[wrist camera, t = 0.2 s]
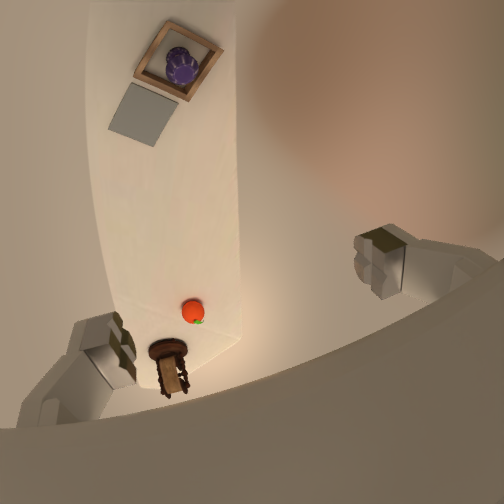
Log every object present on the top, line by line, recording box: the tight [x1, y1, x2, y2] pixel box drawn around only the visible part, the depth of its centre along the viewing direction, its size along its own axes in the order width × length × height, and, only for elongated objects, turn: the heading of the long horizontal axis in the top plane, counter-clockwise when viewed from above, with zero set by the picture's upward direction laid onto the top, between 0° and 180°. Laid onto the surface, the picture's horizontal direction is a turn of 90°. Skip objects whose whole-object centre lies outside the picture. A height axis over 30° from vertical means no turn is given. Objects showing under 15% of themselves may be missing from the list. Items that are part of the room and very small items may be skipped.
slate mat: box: [108, 83, 178, 147], centre depth 50 cm, size 10×10×1 cm
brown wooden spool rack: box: [149, 338, 190, 399], centre depth 101 cm, size 15×15×20 cm
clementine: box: [182, 301, 204, 324], centre depth 91 cm, size 8×7×7 cm
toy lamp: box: [166, 47, 199, 85], centre depth 39 cm, size 5×5×17 cm
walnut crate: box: [133, 21, 224, 102], centre depth 43 cm, size 11×11×5 cm
